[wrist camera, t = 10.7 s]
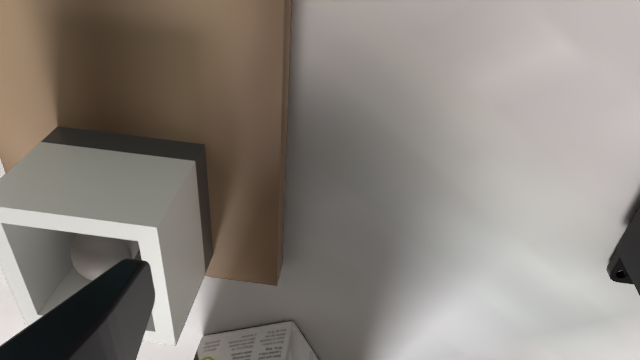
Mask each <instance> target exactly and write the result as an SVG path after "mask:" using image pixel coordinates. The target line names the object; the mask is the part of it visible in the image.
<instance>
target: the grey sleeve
mask: <svg viewBox="0 0 640 360" xmlns="http://www.w3.org/2000/svg"><path fill="white" fill-rule="evenodd" d="M78 233H80V234H88V235H95V236H103V237H110V238H118V239H125V240H133V241H138V243H139V248H140V250H139V252H138V253H137V255H136V257H135V258H134V259H137V260H144V261H147V262H148V263H149V264H150V267H151V273H152V278H153V284H154V289H155V302H154V306H153V309H152V312H151V315H150V318H149V321H148V324H147V327H146V330H145V333H144V336H143V339H142V341H145V342H152V343H158V344H165V345H172V346H176V344H177V342H178V339H179V337H180V334H181V332H182V330H183V327H184V325H185V322H186V320H187V317H188V315H189V313H190V310H191V308H192V305H193V303H194V300H195V298H196V296H197V293H198V291H199V288H200V286H201V283H202V281H203V279H204V276H205V274H206V271H207V269H208V266H209V264H210V262H211V259H212V257H213V244H212V231H211V218H210V205H209V192H208V178H207V165H206V152H205V144H198V143H190V142H182V141H173V140H165V139H157V138H149V137H141V136H132V135H124V134H116V133H108V132H100V131H91V130H83V129H75V128H67V127H59V126H57V127H56V128H55V129H54V130H53V131H52V132H51V133H50V134H49V135H48V136H46V137H45V138H44V139H43V140H42V141H41V142H40V143H39V144H38V145H37V146H35V147H34V148H33V149H32V150H31V151H30V152H29V153H28V154H27V155H26V156H25V157H23V158H22V159H21V160H20V161H19V162H18V163H17V164H16V165H15V166H14V167H13V168H11V169H10V170H9V171H8V172H7V173H6V174H5V175H4V176H3V177H2V178H0V267H1V270H2V272H3V274H4V277H5V279H6V281H7V284H8V286H9V288H10V291H11V293H12V295H13V298H14V300H15V302H16V305H17V307H18V309H19V312H20V314H21V316H22V319H23V321H24V323H25V324H27V325H30V324H32V323H33V322H35V321H36V320H38V319H39V318H40V317H42V316H43V315H45V314H46V313H47V312H49V311H50V310H52V309H53V308H54V307H56V306H57V305H59V304H60V303H62V302H63V301H64V300H66V299H67V298H69V297H70V296H71V295H73V294H74V293H76V292H77V291H78V290H80V289H81V288H83V287H84V286H85V285H87V284H88V283H90V282H91V281H93V280H90V279H87V278H85V277H84V276H82V275H81V274H80V273H79V272H78V271H77V270H76V269H75V267H74V265H73V263H72V260H71V247H72V244H73V241H74V239H75V238H76V236H77V235H78Z"/></svg>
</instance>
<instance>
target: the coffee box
mask: <svg viewBox="0 0 640 360" xmlns="http://www.w3.org/2000/svg"><path fill="white" fill-rule="evenodd" d="M194 360H318V358H317V356H316V355H315V353H314V352H313V350H312V349H311V347H310V346H309V344H308V343H307V341H306V340H305V338H304V337H303V335H302V334H301V332H300V330H299V329H298V327H297V326H296V324H295V323H294V322H292V321H289V322H283V323H277V324H271V325H265V326H259V327H253V328H247V329H241V330H235V331H230V332H224V333H218V334H212V335H206V336H204V337H202V339H201V341H200V344H199V346H198V349H197V352H196V355H195V358H194Z"/></svg>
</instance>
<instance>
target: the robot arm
mask: <svg viewBox="0 0 640 360" xmlns="http://www.w3.org/2000/svg"><path fill="white" fill-rule="evenodd" d="M621 270H623V271H621ZM618 271H620V272H618ZM607 272H608V274H609V276H610V279H612V280H613V281H615V282H620V283H628V284H634V285H635V287H636V289H637V291H638V293H639V295H640V207H639V209H638V210H637V212H636V214H635V216H634V217H633V219H632V221H631V223H630V225H629V226H628V228H627V230H626V232H625V233H624V235H623V237H622V239H621V240H620V242H619V244H618V246H617V248H616V252H615V254H614V256H613V257H612V259H611V261H610V263H609V264H608V266H607ZM154 302H155V289H154V284H153V278H152V273H151V267H150V264H149V263H148V262H147V261H144V260H137V259H129V258H126V259H123V260H121V261H119V262H118V263H117V264H115V265H114V266H112V267H111V268H109V269H108V270H107V271H105V272H104V273H102V274H101V275H100V276H98V277H97V278H95V279H94V280H93V281H91V282H90V283H88V284H87V285H85V286H84V287H83V288H81V289H80V290H78V291H77V292H76V293H74V294H73V295H71V296H70V297H69V298H67V299H66V300H64V301H63V302H62V303H60V304H59V305H57V306H56V307H54V308H53V309H52V310H50V311H49V312H47V313H46V314H45V315H43V316H42V317H40V318H39V319H38V320H36V321H35V322H33V323H32V324H30V325H29V326H28V327H26V328H25V329H23V330H22V331H21V332H19V333H18V334H16V335H15V336H14V337H12V338H11V339H9V340H8V341H6V342H5V343H4V344H2V345H1V346H0V360H136V357H137V354H138V351H139V348H140V345H141V342H142V339H143V336H144V333H145V330H146V327H147V324H148V321H149V318H150V315H151V312H152V309H153V306H154Z"/></svg>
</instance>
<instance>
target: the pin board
mask: <svg viewBox="0 0 640 360" xmlns="http://www.w3.org/2000/svg"><path fill="white" fill-rule="evenodd" d="M291 3H292V0H0V159H1V161H2V164H3V167H4V170H5V173H7V172H8V171H9V170H10V169H11V168H13V167H14V166H15V165H16V164H17V163H18V162H19V161H20V160H21V159H22V158H23V157H25V156H26V155H27V154H28V153H29V152H30V151H31V150H32V149H33V148H34V147H35V146H37V145H38V144H39V143H40V142H41V141H42V140H43V139H44V138H45V137H46V136H48V135H49V134H50V133H51V132H52V131H53V130H54V129H55V128H56V127H57V126H59V127H67V128H75V129H83V130H91V131H100V132H108V133H116V134H124V135H132V136H141V137H149V138H157V139H165V140H173V141H182V142H190V143H198V144H205V152H206V165H207V178H208V192H209V205H210V218H211V231H212V244H213V257H212V259H211V262H210V264H209V266H208V269H207V271H206V274H205V276H209V277H216V278H224V279H231V280H238V281H246V282H253V283H260V284H268V285H275V286H277V283H278V279H279V275H280V271H281V267H282V260H283V232H284V203H285V175H286V146H287V118H288V89H289V61H290V32H291ZM139 250H140V248H139V243H138V241H133V240H125V239H118V238H110V237H103V236H95V235H88V234H80V233H78V235H77V236H76V238H75V239H74V241H73V244H72V247H71V260H72V263H73V265H74V267H75V269H76V270H77V271H78V272H79V273H80V274H81V275H82V276H84V277H85V278H87V279H90V280H94V279H95V278H97V277H98V276H100V275H101V274H102V273H104V272H105V271H107V270H108V269H109V268H111V267H112V266H114V265H115V264H117V263H118V262H119V261H121V260H123V259H126V258H129V259H134V258H135V257H136V255H137V253H138V252H139Z"/></svg>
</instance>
